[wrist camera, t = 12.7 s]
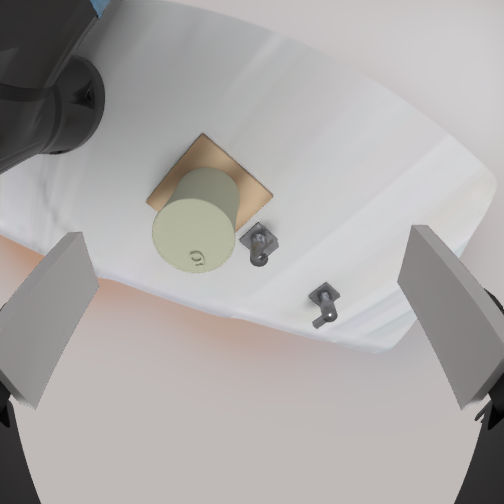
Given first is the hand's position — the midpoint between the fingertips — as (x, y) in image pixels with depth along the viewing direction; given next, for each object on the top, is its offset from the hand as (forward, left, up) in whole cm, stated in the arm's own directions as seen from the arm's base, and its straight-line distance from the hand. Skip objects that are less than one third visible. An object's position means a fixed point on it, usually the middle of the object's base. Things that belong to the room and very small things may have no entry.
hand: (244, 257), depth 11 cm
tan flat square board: (+2, -11, -31) cm, 33 cm away
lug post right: (+28, -11, -31) cm, 43 cm away
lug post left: (+12, -11, -31) cm, 35 cm away
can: (+2, -11, -30) cm, 32 cm away
